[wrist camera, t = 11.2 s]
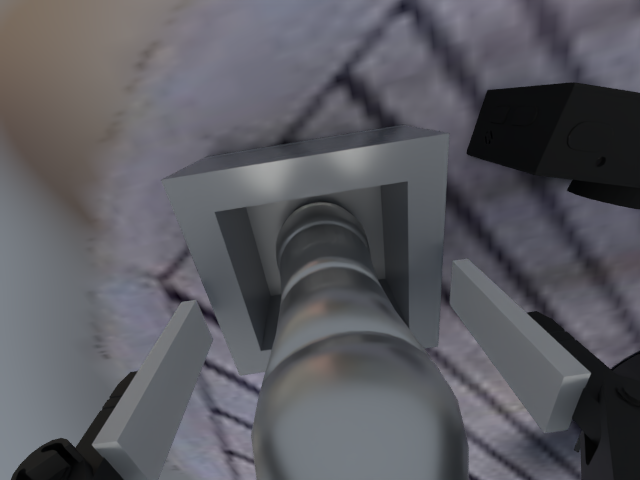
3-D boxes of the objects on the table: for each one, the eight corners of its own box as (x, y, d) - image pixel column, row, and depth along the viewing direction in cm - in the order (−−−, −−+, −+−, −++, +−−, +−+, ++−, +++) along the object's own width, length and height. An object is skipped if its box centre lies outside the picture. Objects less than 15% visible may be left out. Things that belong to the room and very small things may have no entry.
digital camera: (458, 170, 21) (523, 197, 15) (485, 90, 19) (575, 81, 13) (580, 185, 22) (690, 216, 16) (620, 110, 20) (766, 112, 14)
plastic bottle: (351, 183, 20) (837, 829, 2) (367, 262, 23) (628, 817, 5) (265, 206, 20) (25, 970, 2) (292, 281, 23) (278, 879, 5)
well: (405, 287, 26) (438, 346, 19) (255, 310, 26) (239, 375, 20) (402, 124, 19) (449, 133, 13) (206, 156, 20) (161, 179, 13)
